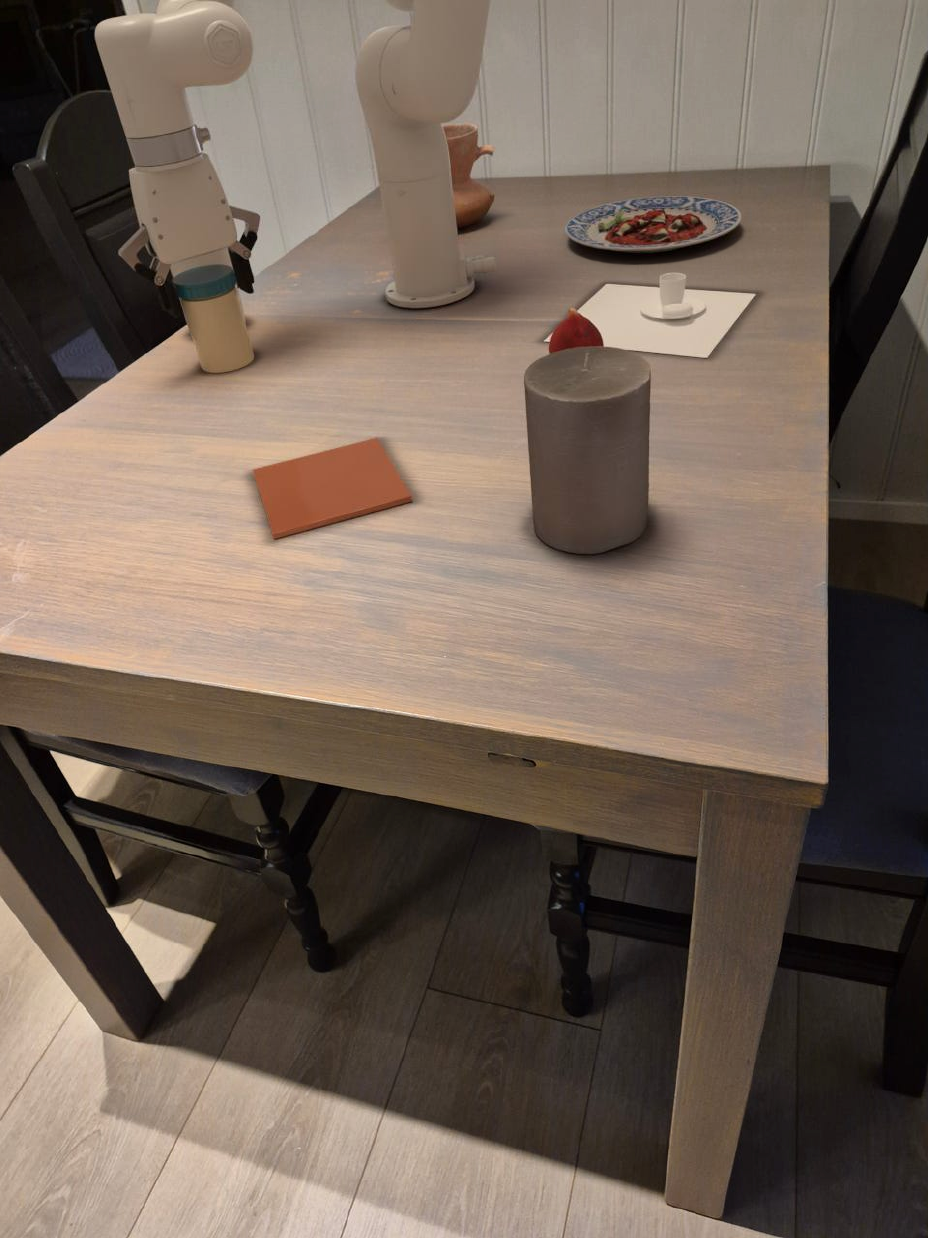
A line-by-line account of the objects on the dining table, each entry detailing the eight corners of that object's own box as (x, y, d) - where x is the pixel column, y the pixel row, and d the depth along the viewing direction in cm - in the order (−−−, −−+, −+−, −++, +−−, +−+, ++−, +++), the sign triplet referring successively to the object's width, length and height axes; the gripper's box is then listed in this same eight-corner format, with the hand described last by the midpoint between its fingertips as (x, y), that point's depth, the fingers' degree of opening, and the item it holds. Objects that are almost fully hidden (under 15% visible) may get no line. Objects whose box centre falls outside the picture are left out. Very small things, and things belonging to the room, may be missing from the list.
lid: (179, 283, 110) (175, 269, 109) (238, 274, 111) (234, 260, 110) (173, 303, 105) (168, 288, 104) (234, 293, 105) (230, 278, 104)
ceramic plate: (778, 227, 130) (780, 206, 128) (648, 277, 120) (648, 254, 118) (654, 201, 147) (654, 182, 145) (531, 242, 138) (530, 222, 136)
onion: (608, 370, 99) (608, 298, 94) (597, 392, 95) (596, 319, 90) (557, 368, 100) (554, 298, 96) (544, 390, 96) (540, 318, 91)
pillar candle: (553, 487, 81) (544, 326, 71) (660, 499, 77) (666, 331, 68) (517, 547, 74) (501, 378, 64) (632, 563, 70) (634, 387, 61)
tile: (378, 442, 91) (376, 437, 91) (412, 501, 82) (411, 495, 81) (254, 474, 89) (252, 469, 89) (274, 539, 79) (272, 533, 79)
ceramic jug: (500, 206, 156) (492, 115, 147) (500, 230, 145) (492, 133, 136) (399, 218, 158) (385, 128, 149) (391, 242, 146) (376, 147, 137)
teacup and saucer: (691, 327, 105) (693, 293, 102) (627, 321, 109) (627, 288, 106) (713, 300, 111) (716, 267, 108) (652, 296, 114) (653, 264, 112)
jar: (255, 347, 116) (233, 266, 110) (253, 367, 111) (230, 283, 105) (203, 356, 116) (178, 275, 110) (199, 376, 111) (172, 293, 104)
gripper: (225, 128, 104) (262, 276, 115) (80, 163, 97) (134, 316, 108) (250, 134, 99) (287, 288, 110) (99, 171, 92) (154, 331, 103)
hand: (211, 302), depth 109 cm, fingers open, 9 cm apart
